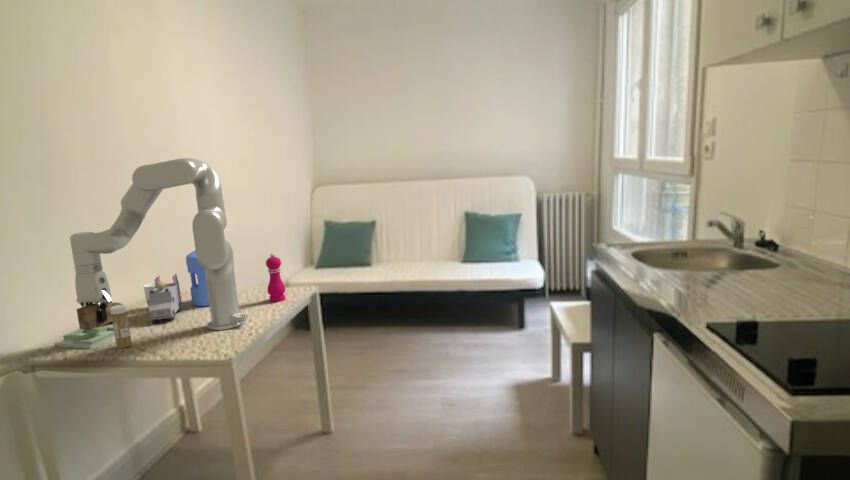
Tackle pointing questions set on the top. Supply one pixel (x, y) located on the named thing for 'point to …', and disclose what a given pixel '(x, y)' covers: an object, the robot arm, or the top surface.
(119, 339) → the sprinkles bottle
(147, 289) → the white cup
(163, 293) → the toy vehicle
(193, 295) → the water jug
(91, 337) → the jig
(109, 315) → the brown cuboid brick
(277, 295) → the pepper mill
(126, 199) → the robot arm
